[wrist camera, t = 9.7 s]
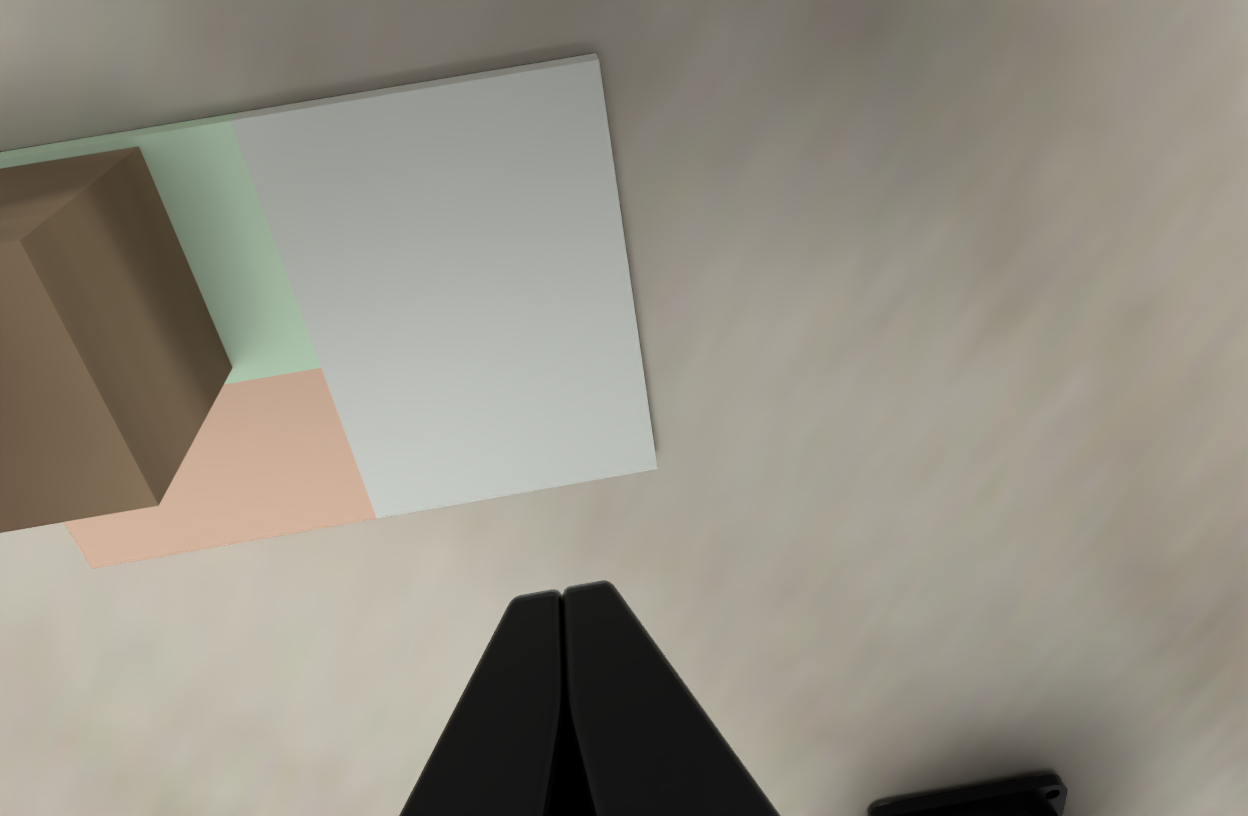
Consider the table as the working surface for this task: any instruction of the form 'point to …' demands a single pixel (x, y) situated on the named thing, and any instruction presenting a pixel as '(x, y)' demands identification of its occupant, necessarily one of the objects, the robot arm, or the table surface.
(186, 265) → the walnut cube
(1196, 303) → the table surface
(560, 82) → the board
